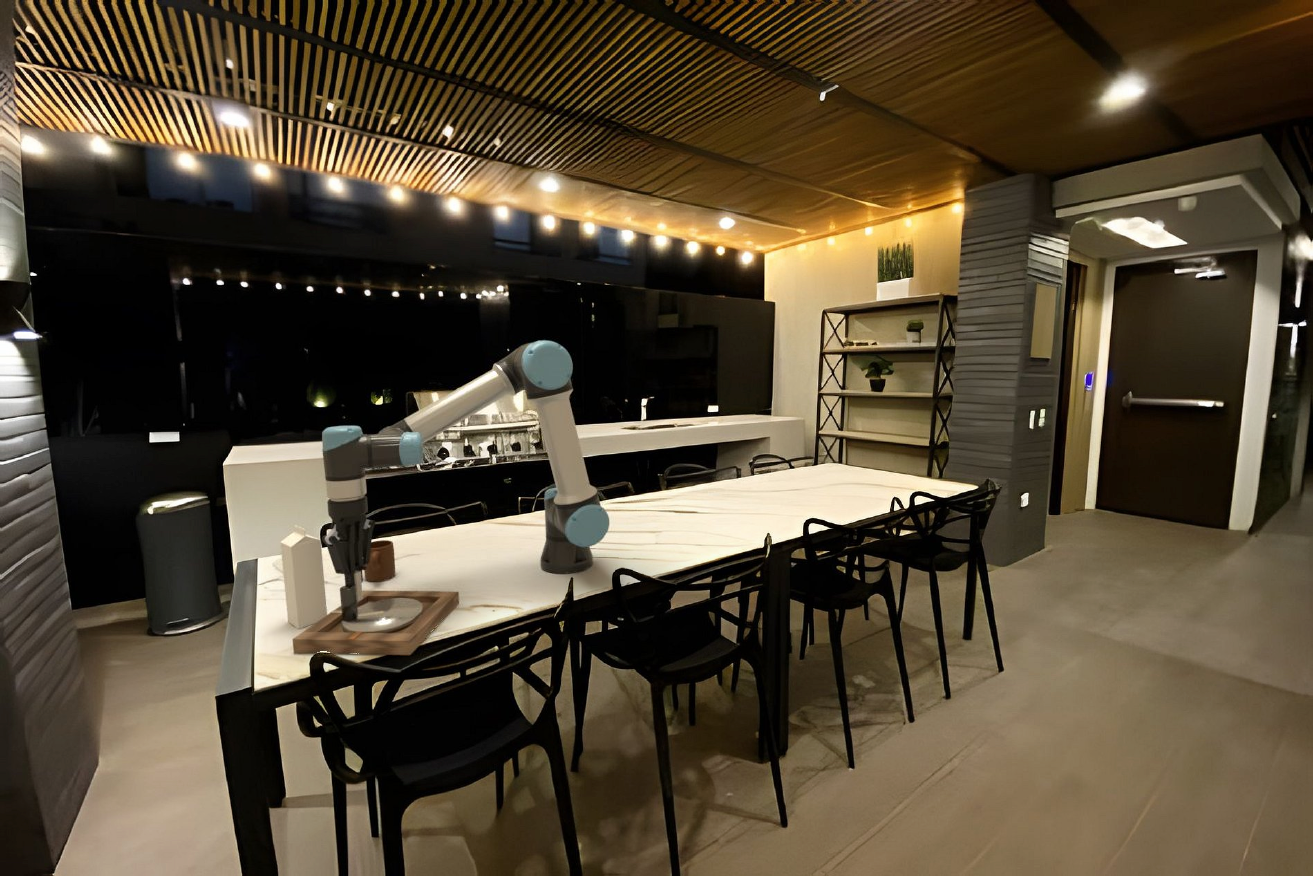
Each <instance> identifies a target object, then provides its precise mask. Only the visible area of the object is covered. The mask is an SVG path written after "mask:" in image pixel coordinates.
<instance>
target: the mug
mask: <svg viewBox="0 0 1313 876" xmlns="http://www.w3.org/2000/svg"><path fill="white" fill-rule="evenodd" d="M395 558H396V557H395V546H394V542H393V541H392V540H387V539H386V540H385V539H381V540H375V541H371V551H370V560H369V563H368V564H365V565H364V566H365V567H367V568H366V570H363V572H364V578H365V580H366V581H368V582H372V583H373V582H382V581H386V580H389V579H391V578H393V577H394V576H395V575H396V561H395ZM363 559H364V558H363Z"/></svg>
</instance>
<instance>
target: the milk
mask: <svg viewBox="0 0 1313 876" xmlns="http://www.w3.org/2000/svg"><path fill="white" fill-rule="evenodd" d="M293 527H294V529H293V530H294V531H293V532H292V533H290V535H287V536H286V537H285V538H284V539H283V540H281V541H280V550H281V561H282V563H281V564H282V571H283V584H284V592H285V594H284V595H285V603H286V612H287V615H286V616H287V622H288V623H290V624H291V625H292V626H294V627H295V628H296V629H298V630H300V629H303V628H306V627H310V626H312V625H314V624H315V623H317V622H318V621H319V620H321V619H322V618H324V617H325V616H327V615H328V609H327V596H326V586H325V584H326V583H325V575H324V563H323V561H324V560H323V553H322V552H323V551H322V539H319V538H317V537H315V536H312V535H310V534H308V533H307V534H306V530H305V528H303V527H300V526H299V525H293Z"/></svg>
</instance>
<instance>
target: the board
mask: <svg viewBox="0 0 1313 876" xmlns="http://www.w3.org/2000/svg"><path fill="white" fill-rule="evenodd" d="M362 594H363V599H362V600H360V601H357V607H360V606H362V605H365V604H368V603H371V602H375V601H379V600H384V599H391V598H410V599H415V600H417V601H419V602H421V603H422V605H423V614H422V615H421V616H420V617H419V618H418V619H417V620H416V621H415V622H414V623H412V624H411V625H409V626H407V627H404V628H402V629H399V630H396V631H393V632H389V633H362V632H356V633H346V632H345V631H344V630H343V628H342V610H341V605H339V606H338V607H336V608H335V609H333V610H331V611H330V612H329V613H327V616H325V617H324V618H322V619H321V620H319V621H318V622H317V623H315V624H312V625H310V626H308V628H306V629H305V630H303V631H302V632H301V633H299V634H298V635H296V636H295V637H293V638H292V648H293V653H294V654H309V655H310V654H316V653H317V652H320V651H327V652H330V653H333V654H332V655H351V654H350V653H357V654H356V655H371V656H372V655H374V656H375V655H379V656H380V655H382V656H384V655H386V656H387V655H388V656H391V655H392V656H398V655H399V656H411V655H412V654H413V653H414V652H415V651H416V650H417V648H418V647H420V646H421V644H422V643H423V642H424V641H425V640H426V639H427V638H428V637H429V636H430V635H431V634H430V632H431V631H432V630H433V629H434V628H435V627H436V626H437V625H438V624H439V623H440V622H441V621H442V620H443V619H444V618H445V617H446V616H449V615H450V613H452V612H453V610H454V609H455V608H456V607H457V606H458V605H459V604H460V594H459V591H450V590H448V591H446V590H445V591H443V590H442V591H438V590H436V591H435V590H366V589H365V590H363V589H362ZM448 614H449V615H448ZM446 618H447V617H446ZM446 618H445V619H446ZM445 619H444V620H445ZM444 620H443V621H444ZM443 621H442V622H443ZM442 622H441V623H442ZM441 623H440V624H441ZM440 624H439V625H440ZM439 625H438V626H439ZM438 626H437V627H438ZM437 627H436V628H437ZM436 628H435V629H436ZM435 629H434V630H435ZM434 630H433V631H434ZM429 634H430V635H429ZM428 635H429V636H428ZM427 636H428V637H427ZM426 637H427V638H426ZM425 638H426V639H425ZM358 653H359V654H358Z"/></svg>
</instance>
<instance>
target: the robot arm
mask: <svg viewBox="0 0 1313 876" xmlns="http://www.w3.org/2000/svg"><path fill="white" fill-rule="evenodd" d="M573 365H574V364H573V361H572V357H571V355H570V353H569V352H568V350H567V349H566V348H565V347H564V346H562V345H561V344H559V343H558V342H555V341H552V340H546V339H543V340H537V341H533V342H528V343H525V344H522V345H520V346H519V347H518V348H516V349H515V350H514V351H512V352H511V353H509V354H508V355H507V356H505V357H504V358H502V359H501V360H499V361H497V362H495V363H494V364H493V366H492V369H491V370H489V371H487V372H485V373H484V374H482V375H480V376H478V377H477V378H475V379H473V380H472V381H470V382H468V383H466V384H464V385H462V386H460V387H459V388H457V389H455V390H453V391H451V392H450V393H448V394H446V395H444V396H442V397H441V398H439V399H437V400H436V401H433V402H432V403H429V405H426V406H425V407H423V408H421V409H419V410H417V411H416V412H413V413H412V414H410V415H408V416H407V417H405V418H404V419H402V420H400V421H398V422H396V423H394V424H392V425H390V426H386V427H384V428H383V429H381V430H380V431H379V432H378V433H376V434H367V433H366V434H364V432H363V430H362V428H361V427H360V426H359V425H338V426H337V425H336V426H330V427H326V428H325V429H324V430H323V431H322V433H321V434H322V435H321V436H322V437H321V440H322V444H321V445H322V448H321V449H322V450H321V452H322V459H323V467H324V477H325V487H326V490H325V491H326V497H327V498H328V500H327V503H326V504H327V514H328V517H330V519H331V525H330V531H329V532H328V534H327V535H326V534H325V535H322V537H321V542H323V543H324V544H325V545H326V549H327V550H328V554H329V556H330V560H331V563H332V566H333V568H334V571H335V573H336V574H339V575H343V576H344V584H345V585H344V586H346V585H355V586H356V596H357V601H360V600H362V599H363V594H362V591H363V581H364V578H363V571H364V570H366V568H367V567H365V566H364V565H365V564H368V563H369V560H370V551H371V542H373V541H372V540H373V539H372V538H373V532H374V528H375V526H376V521H375V520H371V519H367V515H366V513H368V512H369V510H368V509H369V508H368V497H367V496H366V494H367V481H366V472H365V470H366V469H375V468H376V469H377V468H392V467H394V468H395V467H404V466H405V467H409V466H414V465H420V464H422V463H423V461H424V445H423V444H424V443H426V442H428V441H430V440H431V439H433V438H435V437H437V436H439V435H440V434H442V433H443V432H445V431H447V430H449V429H450V428H452V427H454V426H456V425H458V424H460V423H461V422H463V421H464V420H466V419H468V418H469V417H471V416H473V415H475V414H476V413H478V412H480V411H482V410H483V409H485V408H487V407H489V406H490V405H492V404H493V403H495V402H497V401H500V400H501V399H503V398H504V397H506V396H507V395H509V396H516V395H517V394H518V393H520V392H522V391H525V396H526V399H527V401H528V402H530V403H532V404H533V405H534V406H535V409H536V413H537V418H538V421H539V425H540V429H541V433H542V437H543V441H544V444H545V448H546V453H547V456H548V460H549V464H550V467H551V471H552V475H553V480H554V483H555V487H552V488H549V489H547V490H546V491H544V500H543V502H544V521H545V525H544V526H545V542H544V545H543V549H542V551H541V555H540V567H541V569H542V570H543V571H545V572H548V573H553V574H573V573H579V572H582V571H585V570H587V569H589V568H590V567H591V566H593V564H594V561H593V560H594V557H593V553H592V550H591V547H592V546H596V545H597V544H598V543H600V542H601V541H602V540H603V539H604V538H605V536H606V535H607V533H608V531H609V528H610V517H609V514H608V512H607V511H606V509H605V508H604V507H602V506H601V502H600V497H599V493H598V489H597V488H596V487H595V486H593V485H591V484H590V480H589V476H588V473H587V468H586V464H585V460H584V456H583V452H582V447H581V444H580V439H579V435H578V431H577V427H576V423H575V417H574V414H573V411H572V407H571V402H570V395H571V394H572V392H573V391H574V389H573V385H572V381H571V377H572V374H573V369H574V367H573ZM363 558H364V559H363Z"/></svg>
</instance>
